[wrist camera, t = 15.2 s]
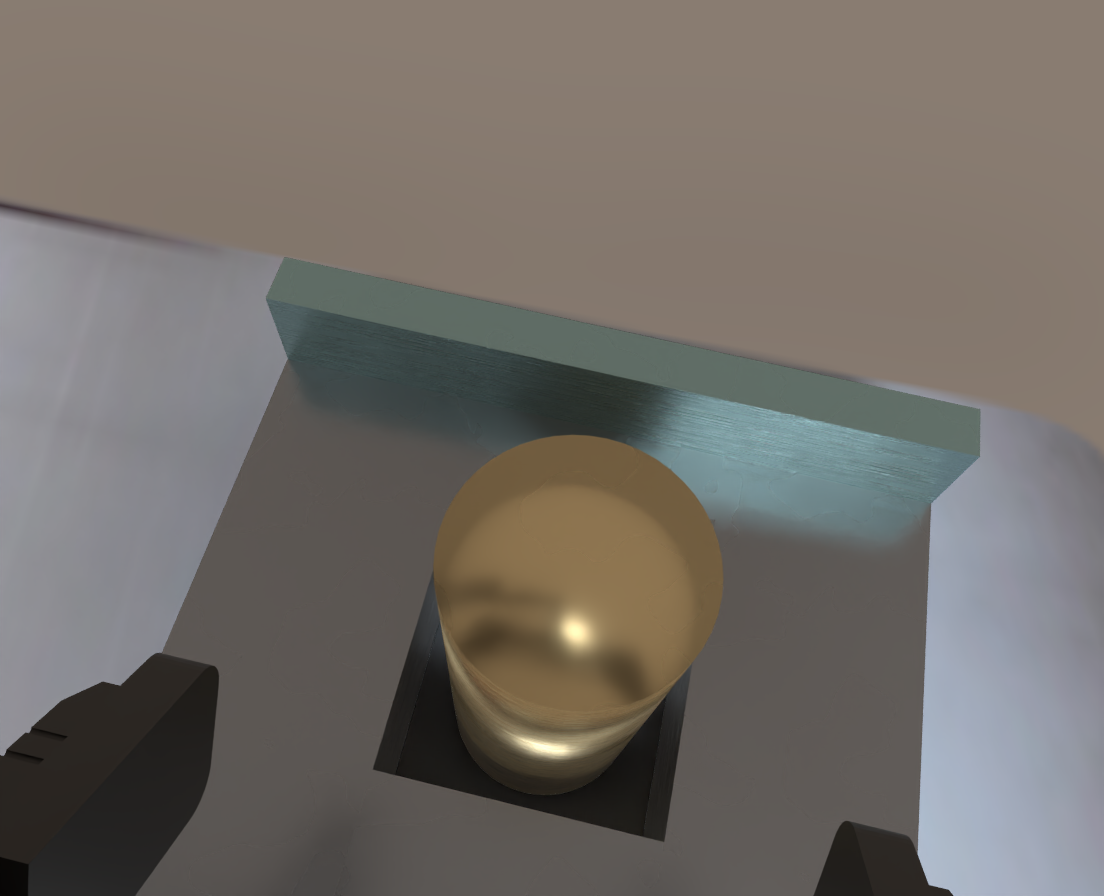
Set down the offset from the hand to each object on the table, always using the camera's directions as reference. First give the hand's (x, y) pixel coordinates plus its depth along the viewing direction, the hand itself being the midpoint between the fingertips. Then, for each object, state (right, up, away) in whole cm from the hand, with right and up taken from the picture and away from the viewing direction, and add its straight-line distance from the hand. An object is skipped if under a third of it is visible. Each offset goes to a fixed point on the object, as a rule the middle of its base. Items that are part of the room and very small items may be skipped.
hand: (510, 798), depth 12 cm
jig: (0, -2, +11) cm, 11 cm away
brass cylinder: (0, -2, +11) cm, 11 cm away
